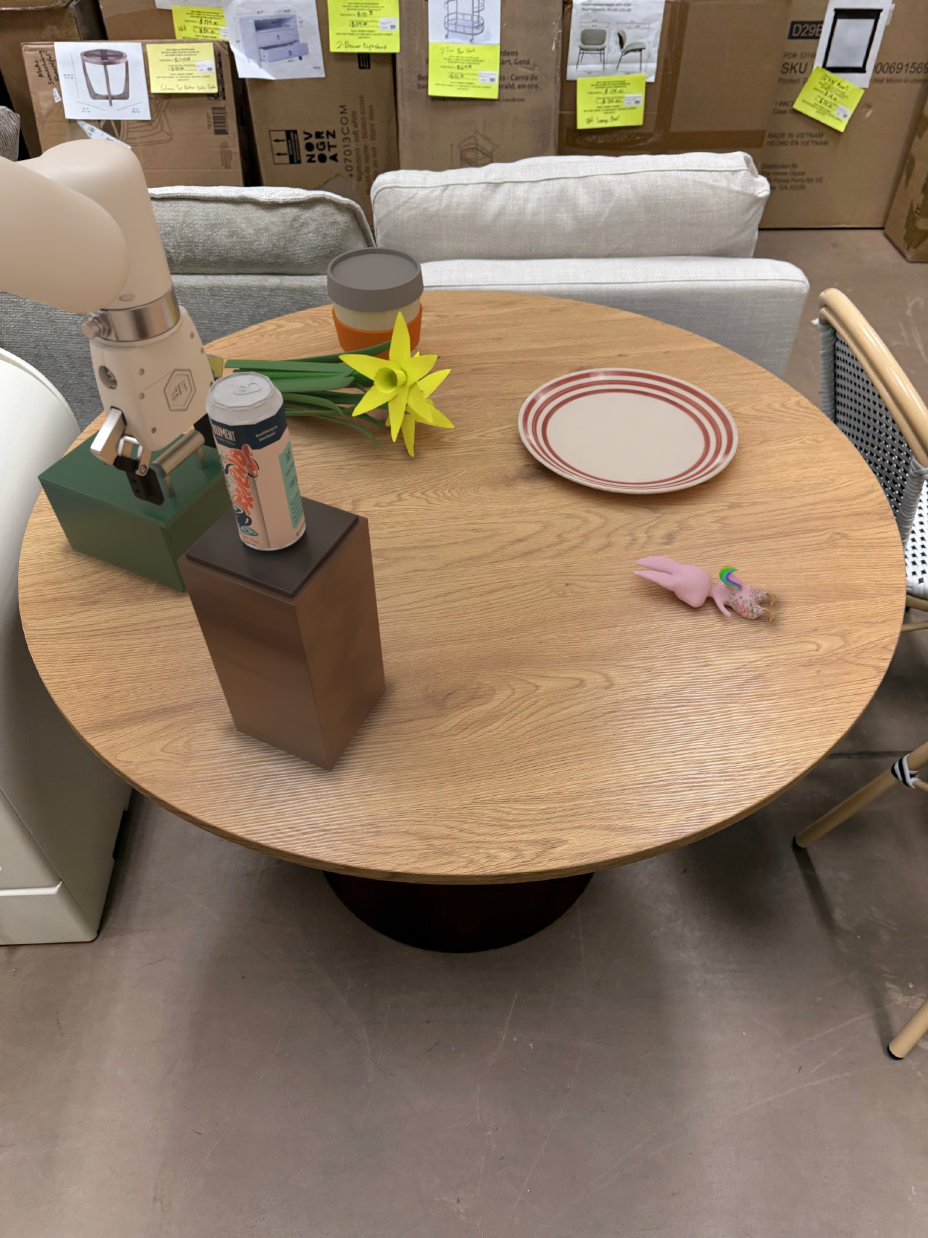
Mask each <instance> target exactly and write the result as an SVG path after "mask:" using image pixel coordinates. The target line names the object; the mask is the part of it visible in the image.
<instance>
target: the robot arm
mask: <svg viewBox="0 0 928 1238" xmlns="http://www.w3.org/2000/svg"><path fill="white" fill-rule="evenodd" d="M150 196H151V195H150V192H149V187H148V185H147V181H146V177H145V173H144V171H143V167H142V164H141V162H140V160H139V158H138V157H137V155H136V153H135V152H134V151H133V150H132V149H130V148H129V147H128V146H126V145H125V144H123V143H120V142H118V141H114V140H111V139H110V140H109V139H103V138H83V139H75V140H70V141H66V142H62V143H59V144H57V145H55V146H52V147H51V148H48V149H46V150H45V151H44V152H43V153H42V154H41V155H40V156H37V157H33V158H29V159H24V160H18V161H13V160H11V159H9V158H6V157H4V156H2V155H0V291H2V292H5V293H8V294H12V295H15V296H19V297H21V298H24V299H27V300H31V301H33V302H37V303H40V304H43V305H47V306H49V307H52V308H54V309H58V310H62V311H64V312H69V313H75V314H84V316H85V318H86V319H85V321H84V322H83V323H81V324H80V326H79V327H80V331H81V333H82V335H83V336H84V337H85V338H87V339H88V343H89V350H90V356H91V362H92V368H93V373H94V377H95V382H96V385H97V389H98V393H99V397H100V400H101V403H102V407H103V409H104V412H105V416H106V418H105V420H104V421H103V423H102V425H101V427H100V431H99V432H98V434H97V436H96V438H95V440H94V441H93V443H92V445H91V447H90V451H91V453H92V454H93V455H94V456H96V457H97V458H98V459H100V460H101V461H102V462H104V464H105V465H107V466H110V467H113V468H116V469H119V470H122V471H125V472H126V475H127V478H128V480H129V483H130V486H131V488H132V491H133V493H134V495H135V496H136V497H137V498H139V499H141V500H144V501H148V502H150V503H153V504H156V505H159V506H160V505H161V504H163V503H164V500H165V499H164V496H163V493H162V490H161V487H160V484H159V481H158V478H157V475H156V472H155V471H154V470H153V469H151V468H149V463H150V459H151V454H152V451H158V450H161V449H163V448H164V447H166V446H167V445H169V444H170V443H171V442H172V441H174V440H175V439H176V438H177V437H179V436H180V435H181V434H184V433H185V432H186V431H187V430H188V429H190V428H191V427H192V426H193V429H194V430H197V431H199V432H200V433H201V434H202V435H203V437H204V439H205V443H204V445H206V446H209V447H212V448H215V449H217V447H216V443H215V439H214V435H213V432H212V428H211V424H210V420H209V417H208V413H207V411H206V408H205V405H206V400H207V397H208V394H209V389H210V388H211V387H212V385H213V384H214V383H215V381H216V380H217V379H220V378H222V377H223V372H224V364H225V362H224V358H223V357H222V356H218V355H215V354H209V353H208V354H207V353H206V350H205V347H204V344H203V342H202V339H201V336H200V334H199V332H198V330H197V328H196V326H195V323H194V322H193V320H192V318H191V316H190V315H189V312H188V311H187V309H186V308H185V307H184V306H183V305H181V304H179V300H178V298H177V294H176V290H175V287H174V282H173V279H172V276H171V271H170V267H169V263H168V259H167V256H166V253H165V248H164V244H163V240H162V237H161V233H160V230H159V226H158V222H157V218H156V215H155V211H154V207H153V203H152V199H151V197H150ZM119 440H120V442H119V447H118V452H117V451H116V444H117V442H118V441H119ZM133 444H135V445H138V446H139V449H138V453H137V458H136V460H135V459H132V458H130V457H131V453H132V448H133Z"/></svg>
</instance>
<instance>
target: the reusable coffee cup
mask: <svg viewBox="0 0 928 1238" xmlns="http://www.w3.org/2000/svg"><path fill="white" fill-rule="evenodd" d="M326 284H327V285H326V292H327V295H328V298H329V299H330V300H331V303H332V309H331V316H332V319H333V323H334V327H335V331H336V335H337V339H338V343H339V346H340V348H341V349H342V350H343V352H349V351H355V350H361V349H365V348H369V347H372V346H376V345H379V344H382V343H385V342H387V341H390V340H392V335H393V330H394V326H395V322H396V319H397V315H398V313H399V311H400V312H401V314H402V316H403V318H404V320H405V323H406V325H407V329H408V333H409V337H410V357H411V358H412V357H414V356H415V354H416V350H417V349H416V348H417V347H418V345H419V343H420V338H421V329H422V328H421V327H422V319H423V318H422V317H423V306H422V303H421V298H422V297H421V296H422V295H423V293H424V291H425V290H424V287H425V285H424V279H423V272H422V265H421V263H420V261H419V260H418V258H417V257H416V256H414V255H412V254H411V253H410V252H407V251H405V250H401V249H398V248H393V247H385V246H384V247H383V246H370V247H369V246H368V247H361V248H356V249H352V250H351V249H350V250H348V251H346V252H343V253H341V254H339V255H337V256H335V257H334V258H333V259H331V260H330V262H329V263H328V265H327V268H326ZM389 352H390V349H388V350H386V351H385V352H383V353H381V354H379V355H376V356H374V357H376V358H380V359H384V360H388V361H390V359H389Z"/></svg>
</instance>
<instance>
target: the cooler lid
mask: <svg viewBox="0 0 928 1238" xmlns="http://www.w3.org/2000/svg"><path fill="white" fill-rule="evenodd" d="M100 429H101V428H100ZM100 429H98V430H97V431H95V432H94V433H93V434H92V435H90V436H89V437H88V438H86V439H85V440H83V441H82V442H81V443H79V444H78V445H77V446H75V447H74V448H73V449H72V450H70V451H69V452H67V453H66V454H65V455H63V456H62V457H61V458H60V459H58V460H57V461H56V462H55V463H53V464H52V465H50V466H49V467H48V468H46V469H45V470H44V471H43V472H41V473H40V474H38V475H37V479H38V481H39V483H40V484H41V483H43V484H46V485H49V486H51V487H54V488H57V489H60V490H62V491H65V492H68V493H70V494H73V495H76V496H78V497H81V498H84V499H86V500H89V501H92V502H95V503H97V504H100V505H103V506H105V507H108V508H111V509H113V510H116V511H119V512H122V513H124V514H127V515H130V516H132V517H135V518H138V519H140V520H143V521H146V522H148V523H151V524H154V525H157V526H159V527H162V528H165V529H168V528H169V527H170V526H171V525H172V524H173V523H174V522H175V521H176V520H177V519H178V518H180V517H181V516H182V515H183V514H184V513H185V512H186V511H187V510H188V509H189V508H190V507H191V506H192V505H194V504H195V503H196V502H197V501H198V500H199V499H200V498H201V497H202V496H203V495H204V494H205V493H206V492H208V491H209V490H210V489H211V488H212V487H213V486H214V485H215V484H216V483H217V482H218V481H219V480H221V479H222V478H223V477H224V473H223V469H222V465H221V462H220V458H219V454H218V450H217V449H215V448H212V447H209V446H206V445H204V443H205V439H204V437H203V435H202V434H201V433H200V432H199V431H197V430H195V429H194V428H193V429H190V430H189V431H188V432H186V433H182V434H181V435H180V436H179V437H177V438H176V439H175V440H174V441H172V442H171V443H170V444H169V445H167V446H166V447H164V448H163V449H161V450H158V451H152V454H151V459H150V463H149V468H151V469H153V470H154V471H155V472H156V475H157V478H158V481H159V484H160V487H161V490H162V493H163V496H164V499H165V500H164V503H163V504H161V505H160V506H159V505H156V504H153V503H150V502H148V501H144V500H141V499H139V498H137V497H136V496H135V495H134V493H133V491H132V488H131V486H130V483H129V480H128V478H127V475H126V472H125V471H122V470H119V469H116V468H113V467H110V466H107V465H105V464H104V462H102V461H101V460H100V459H98V458H97V457H96V456H94V455H93V454H92V453H91V451H90V447H91V445H92V443H93V441H94V440H95V438H96V436H97V434H98V432H99V431H100ZM119 442H120V440H119V441H118V442H117V444H116V451H117V452H118V447H119ZM138 449H139V446H138V445H135V444H133V448H132V453H131V457H130V458H132V459H135V460H136V458H137V453H138Z"/></svg>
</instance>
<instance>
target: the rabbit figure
mask: <svg viewBox="0 0 928 1238" xmlns="http://www.w3.org/2000/svg"><path fill="white" fill-rule="evenodd" d="M634 565H636V566H639V567H644V568H647V569H644V570H633V571H632V574H633V575H635V576H637V577H640V578H644V579H647V580H648V581H650V582H653V583H655V584H657V585H658V586H660V587H662V588H664V589H666V590H669V591H671V592H673V593H674V595H675V596H676V598H678V599H679V600H681V601H682V602H684V603H686V604H687V605H689V606H691V607H693V608H699V607H701V606H703V605H704V604H705V601H706V599H707V597H708V598H709V597H710V598H712V600H713V601H714V602H715V605H717V608H718V609H719V610H720V611H721V613H722V614H723V615H724V616H725V617H726V618H728V619H731V618H732V613H731V612H730V611H729V610H728V609H727V608H726V607H725V606H729V607H730V608H732V610H733V611H735V612H736V613H737V614H738V615H740V616H741V617H743V618H745V619H747V620H755V619H757V618H759V617H760V616H761V615H764V614H768V615H769V618H768V620H767V621H769V622H768V623H769V624H771V623H772V622H773V621H774V619H775V617H776V615H777V614H778V613H779V612H778V611H776V612H774V613H772V612H771V611H770V610H769V608H766V607H762V606H760V604H761V602H762V601H763V600H764V599H766V598H769V600H770V602H769V605H770V608H772V606H773V605H774V604H775V602H776V601H777V598H778V597H779V595H775V596H772V595H771V593H770V592H769V591H760V590H757V589H755V587H754V586H752V585H750V584H744V583H743V582H742V580H741V579H740V578H739V576H737V575H736V574H734V572H739V569H738V568H736V567H734V566H732V565H724V566H722V567H721V568H720V569H719V571H718V577H719V580H720V581H718V582H717V584H716V585H713V580H712V577H711V575H710V573H709V572H708V571H707V570H706V569H704V568H702V567H700V566H698V565H695V564H688V563H686V564H685V563H684V564H682V563H679V562H677V561H676V560H675V559H672V558H671V557H667V556H663V555H649V556H645V557H643V558H640V559H638V560H636V561H635V562H634ZM726 586H730V587H733V588H727V587H726Z"/></svg>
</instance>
